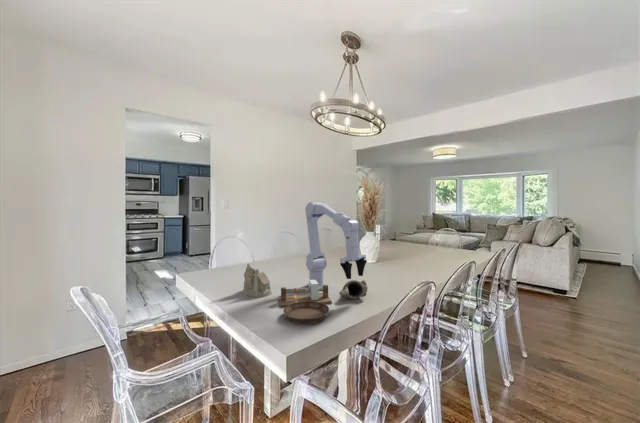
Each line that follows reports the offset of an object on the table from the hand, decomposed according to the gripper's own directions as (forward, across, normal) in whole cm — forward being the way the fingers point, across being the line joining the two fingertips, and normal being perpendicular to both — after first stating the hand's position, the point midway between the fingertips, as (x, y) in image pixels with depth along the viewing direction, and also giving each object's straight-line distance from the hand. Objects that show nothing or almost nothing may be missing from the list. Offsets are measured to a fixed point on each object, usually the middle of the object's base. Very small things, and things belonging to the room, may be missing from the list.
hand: (354, 277), depth 127 cm
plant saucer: (+11, -27, +1) cm, 29 cm away
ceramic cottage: (+6, -27, +40) cm, 49 cm away
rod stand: (+9, -18, +15) cm, 25 cm away
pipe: (+10, +4, +5) cm, 12 cm away
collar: (+8, -14, +13) cm, 21 cm away
